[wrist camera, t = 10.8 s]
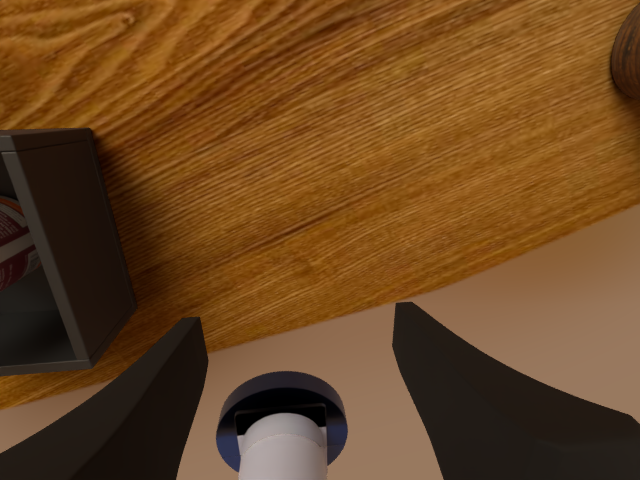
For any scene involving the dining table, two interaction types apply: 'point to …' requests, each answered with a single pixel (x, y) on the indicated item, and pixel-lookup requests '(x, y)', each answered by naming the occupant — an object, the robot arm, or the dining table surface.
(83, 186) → the open storage bin
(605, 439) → the robot arm
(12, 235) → the pill bottle
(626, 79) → the utensil holder
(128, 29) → the dining table surface
